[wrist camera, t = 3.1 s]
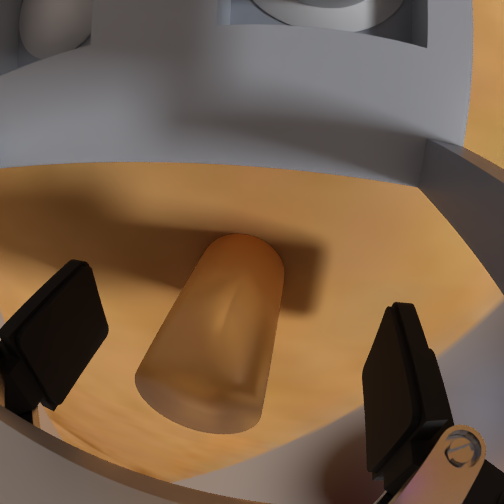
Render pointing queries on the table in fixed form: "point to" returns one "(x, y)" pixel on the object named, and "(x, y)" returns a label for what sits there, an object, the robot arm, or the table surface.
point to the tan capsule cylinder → (217, 339)
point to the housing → (255, 93)
